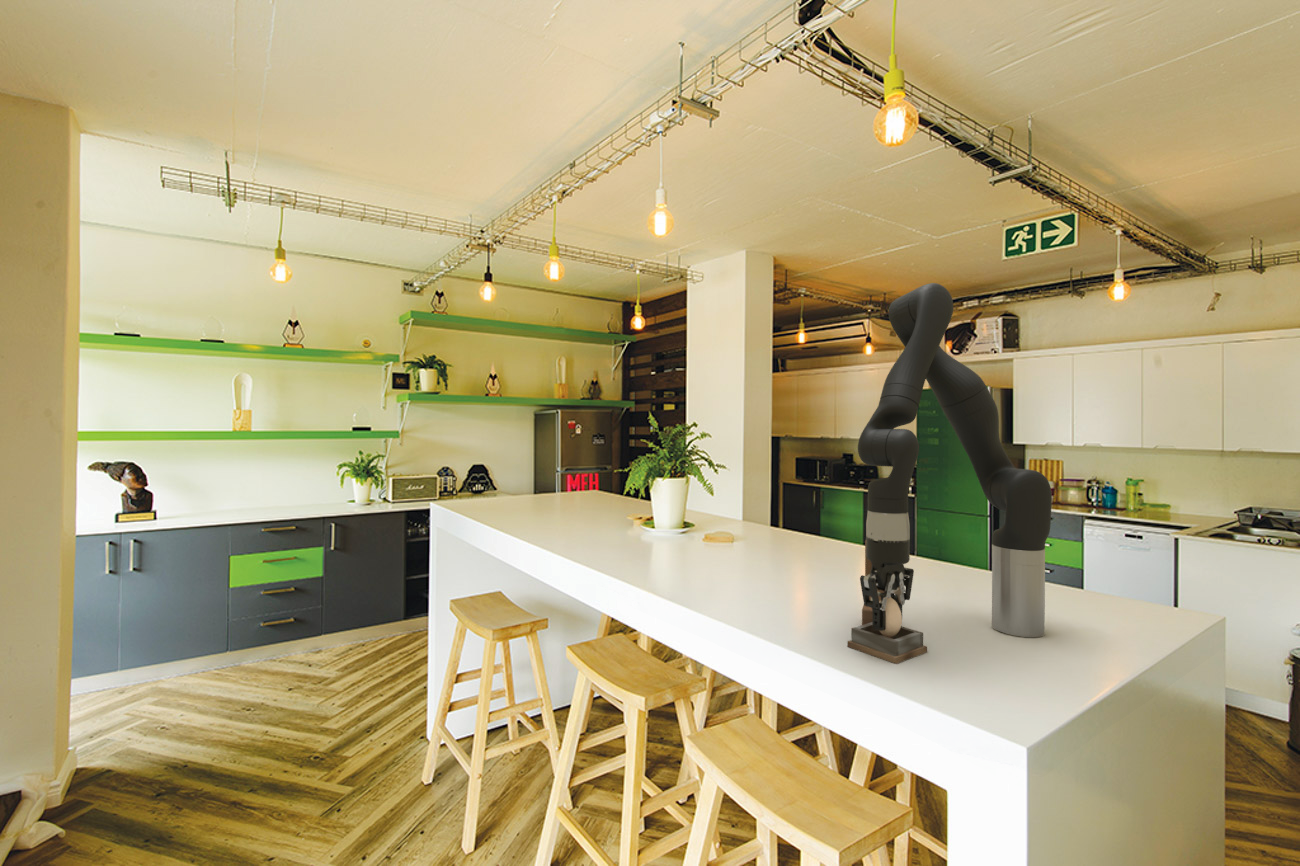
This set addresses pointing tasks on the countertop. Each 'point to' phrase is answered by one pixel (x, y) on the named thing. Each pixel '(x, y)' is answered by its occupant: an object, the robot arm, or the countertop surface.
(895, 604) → the egg
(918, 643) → the holder
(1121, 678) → the countertop surface
